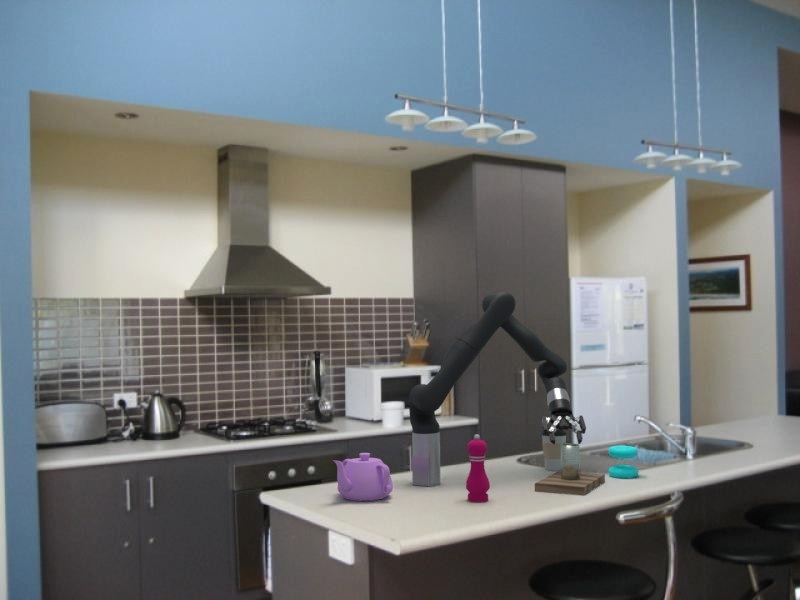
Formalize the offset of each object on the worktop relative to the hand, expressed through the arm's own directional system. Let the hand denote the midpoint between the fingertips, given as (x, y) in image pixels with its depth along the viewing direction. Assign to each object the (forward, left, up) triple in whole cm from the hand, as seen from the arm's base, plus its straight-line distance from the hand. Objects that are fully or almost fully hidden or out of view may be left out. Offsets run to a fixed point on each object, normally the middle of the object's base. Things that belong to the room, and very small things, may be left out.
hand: (567, 442), depth 285 cm
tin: (-3, -2, -11) cm, 12 cm away
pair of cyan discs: (+21, -13, -14) cm, 29 cm away
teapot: (-49, +51, -14) cm, 72 cm away
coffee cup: (+25, +13, -14) cm, 32 cm away
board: (-4, -2, -14) cm, 14 cm away
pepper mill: (-36, +17, -14) cm, 42 cm away
